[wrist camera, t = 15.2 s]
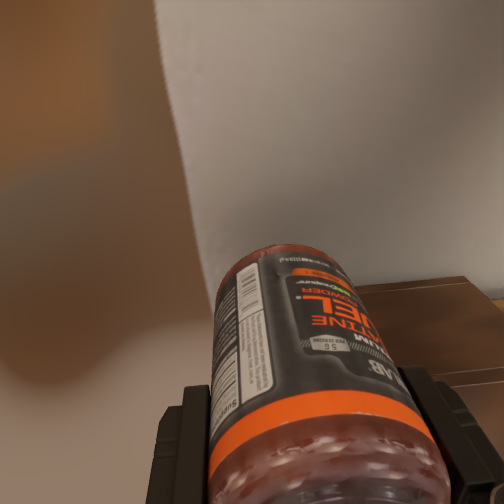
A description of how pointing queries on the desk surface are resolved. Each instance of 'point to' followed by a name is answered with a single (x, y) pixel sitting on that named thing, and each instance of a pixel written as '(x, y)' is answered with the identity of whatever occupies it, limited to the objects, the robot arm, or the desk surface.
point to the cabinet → (446, 340)
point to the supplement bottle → (310, 394)
